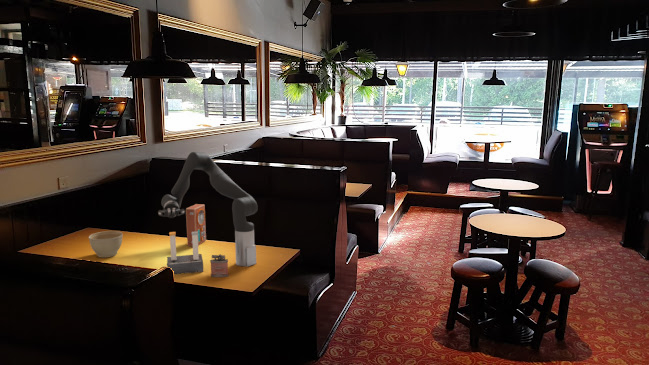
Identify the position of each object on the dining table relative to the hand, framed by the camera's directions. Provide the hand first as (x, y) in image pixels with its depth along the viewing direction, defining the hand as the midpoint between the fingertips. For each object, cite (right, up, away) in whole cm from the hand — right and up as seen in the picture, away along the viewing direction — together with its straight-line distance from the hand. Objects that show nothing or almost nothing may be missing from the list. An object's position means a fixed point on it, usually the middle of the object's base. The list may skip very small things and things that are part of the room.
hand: (171, 216), depth 235 cm
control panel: (+2, -18, +38) cm, 42 cm away
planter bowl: (-39, -22, +17) cm, 48 cm away
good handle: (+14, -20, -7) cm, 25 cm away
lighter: (+26, -27, -14) cm, 40 cm away
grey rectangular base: (+8, -25, -5) cm, 27 cm away
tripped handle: (+3, -20, -7) cm, 22 cm away
